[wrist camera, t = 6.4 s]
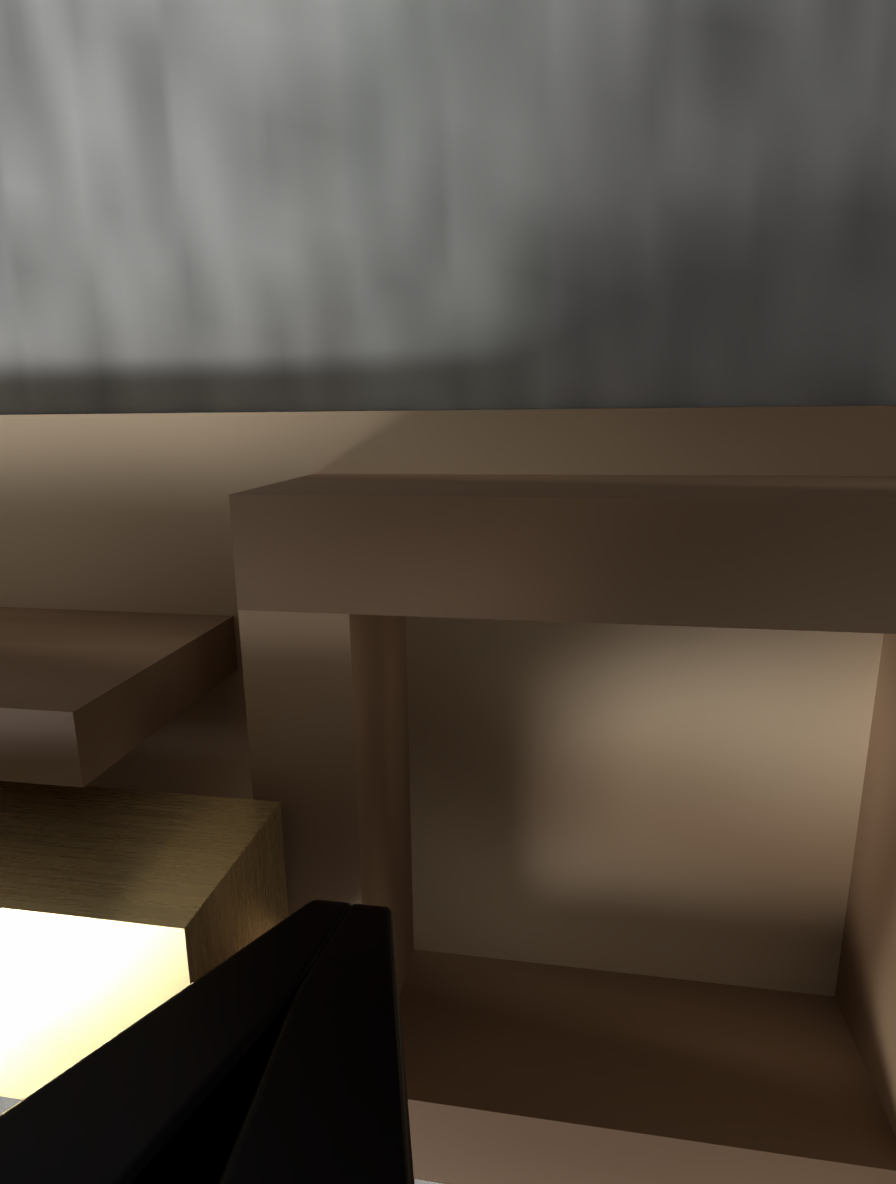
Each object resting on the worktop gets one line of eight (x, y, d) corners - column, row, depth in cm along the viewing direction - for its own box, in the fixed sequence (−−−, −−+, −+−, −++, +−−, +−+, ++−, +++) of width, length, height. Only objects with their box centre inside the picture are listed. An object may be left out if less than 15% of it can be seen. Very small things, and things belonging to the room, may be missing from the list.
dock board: (1159, 1099, 11) (1536, 1547, 7) (-205, 928, 15) (-524, 1140, 11) (1347, 400, 9) (2126, 392, 4) (-336, 418, 13) (-814, 423, 8)
